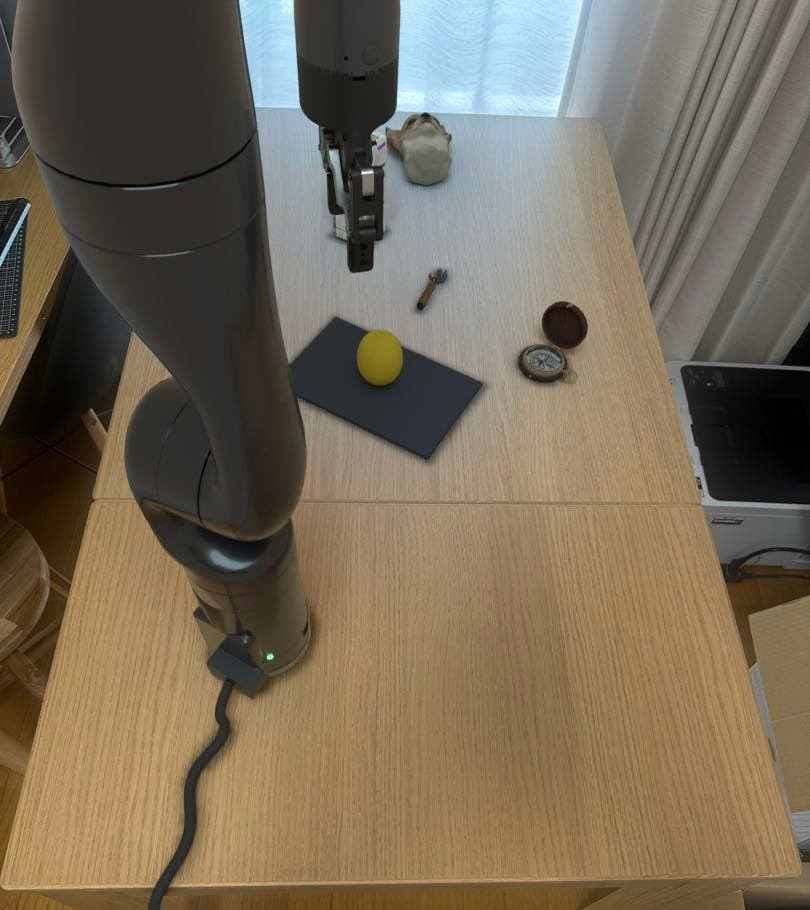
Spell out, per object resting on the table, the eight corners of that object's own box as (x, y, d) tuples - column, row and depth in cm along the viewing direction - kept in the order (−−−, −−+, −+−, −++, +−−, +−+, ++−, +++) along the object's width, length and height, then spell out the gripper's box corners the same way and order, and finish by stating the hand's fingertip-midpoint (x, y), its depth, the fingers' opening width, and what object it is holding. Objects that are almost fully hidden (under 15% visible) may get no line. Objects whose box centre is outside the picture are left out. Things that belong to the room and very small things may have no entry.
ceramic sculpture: (397, 137, 106) (382, 89, 114) (395, 195, 113) (381, 146, 122) (470, 135, 107) (449, 87, 116) (463, 192, 114) (445, 143, 123)
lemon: (396, 402, 91) (398, 353, 84) (352, 394, 91) (351, 345, 84) (405, 370, 93) (408, 320, 87) (363, 362, 94) (362, 312, 87)
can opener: (422, 311, 100) (423, 304, 99) (407, 305, 100) (407, 298, 99) (451, 273, 104) (452, 266, 103) (436, 267, 105) (437, 260, 104)
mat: (427, 460, 87) (427, 457, 86) (273, 385, 92) (273, 381, 91) (482, 385, 93) (482, 382, 93) (335, 319, 99) (335, 316, 98)
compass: (509, 368, 95) (518, 325, 89) (541, 335, 99) (552, 291, 92) (562, 398, 93) (576, 355, 87) (593, 363, 96) (608, 319, 90)
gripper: (279, 1, 57) (295, 199, 70) (315, 95, 49) (324, 296, 63) (375, -4, 58) (372, 191, 72) (423, 87, 51) (410, 285, 64)
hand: (349, 240), depth 67 cm, fingers open, 8 cm apart
